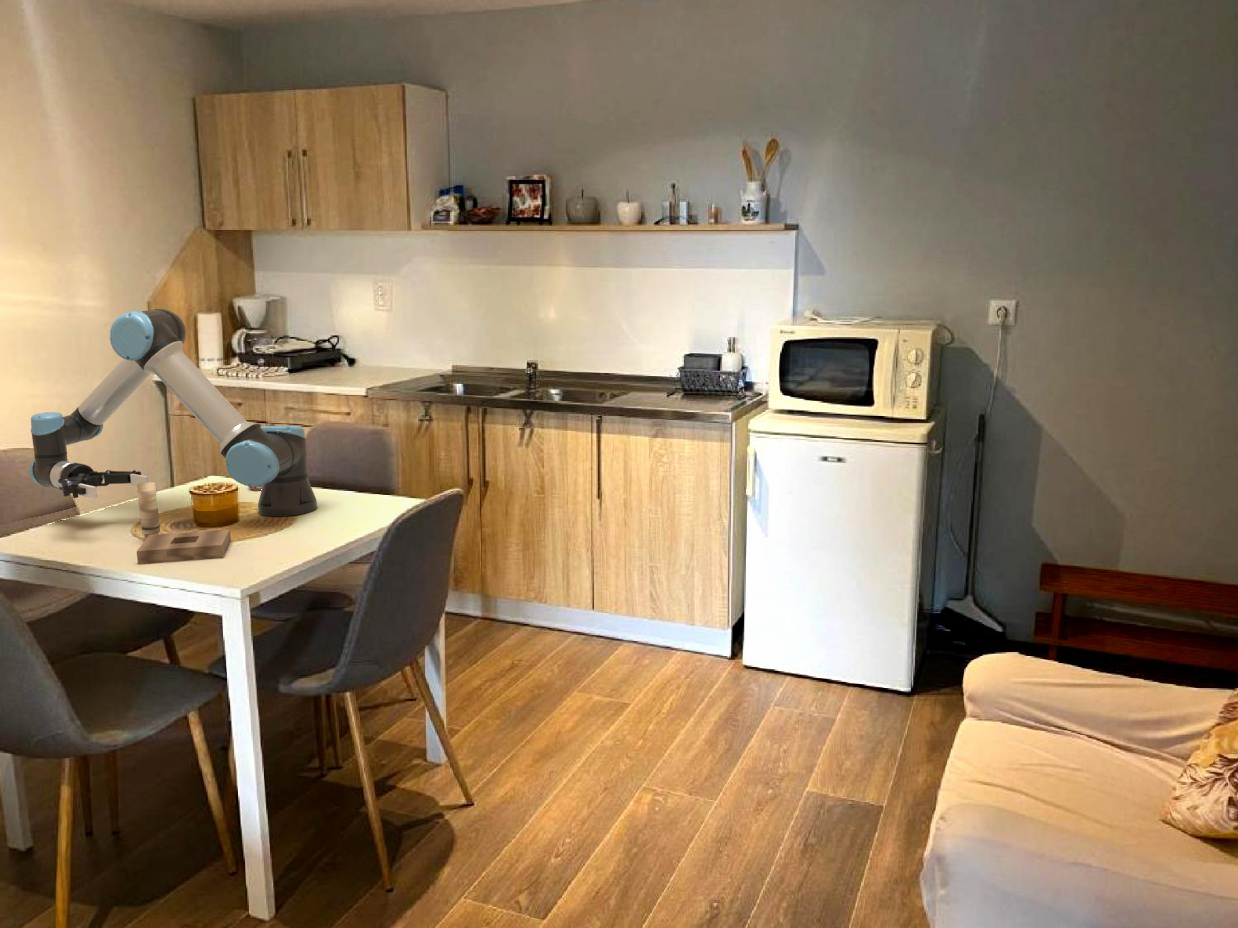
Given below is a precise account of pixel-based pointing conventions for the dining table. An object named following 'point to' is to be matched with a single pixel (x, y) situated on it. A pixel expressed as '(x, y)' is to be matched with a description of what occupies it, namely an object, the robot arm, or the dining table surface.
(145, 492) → the peg
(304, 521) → the dining table surface
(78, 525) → the dining table surface
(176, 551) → the board
